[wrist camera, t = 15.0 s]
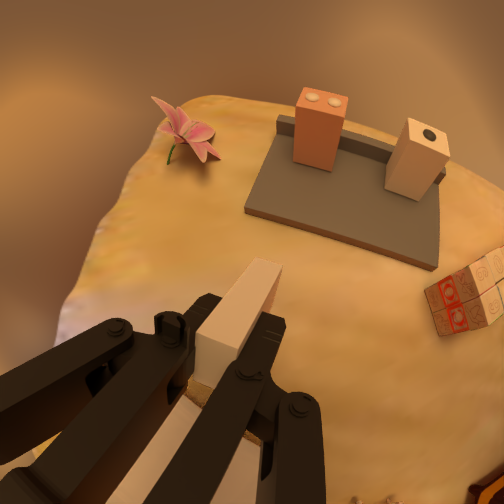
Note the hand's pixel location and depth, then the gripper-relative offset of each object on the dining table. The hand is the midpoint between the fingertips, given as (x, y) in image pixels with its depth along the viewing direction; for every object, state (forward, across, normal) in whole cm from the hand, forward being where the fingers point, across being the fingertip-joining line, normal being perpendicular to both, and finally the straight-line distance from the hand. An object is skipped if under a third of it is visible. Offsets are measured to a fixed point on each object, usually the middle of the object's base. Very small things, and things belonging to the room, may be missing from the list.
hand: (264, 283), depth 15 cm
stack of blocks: (+19, +27, -2) cm, 33 cm away
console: (+22, +5, +3) cm, 23 cm away
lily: (+23, -18, +3) cm, 29 cm away
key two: (+23, -1, +6) cm, 24 cm away
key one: (+23, +11, +6) cm, 27 cm away
